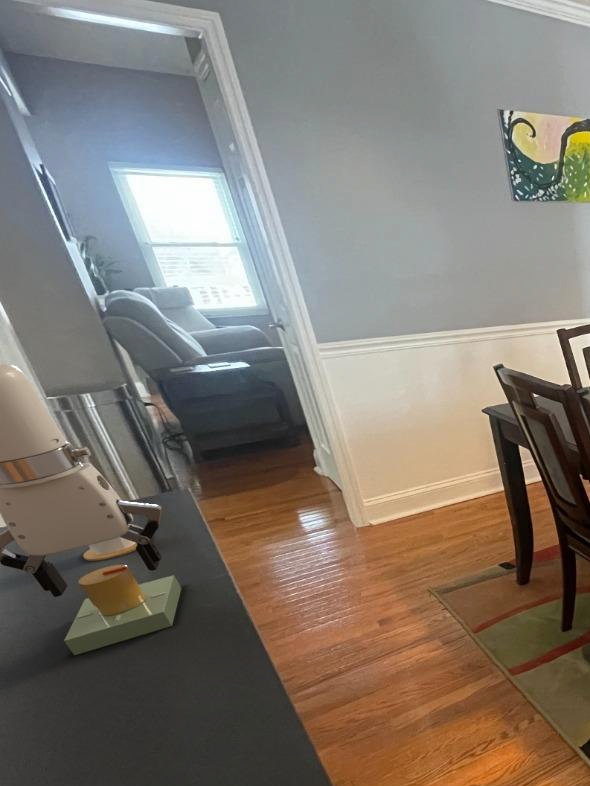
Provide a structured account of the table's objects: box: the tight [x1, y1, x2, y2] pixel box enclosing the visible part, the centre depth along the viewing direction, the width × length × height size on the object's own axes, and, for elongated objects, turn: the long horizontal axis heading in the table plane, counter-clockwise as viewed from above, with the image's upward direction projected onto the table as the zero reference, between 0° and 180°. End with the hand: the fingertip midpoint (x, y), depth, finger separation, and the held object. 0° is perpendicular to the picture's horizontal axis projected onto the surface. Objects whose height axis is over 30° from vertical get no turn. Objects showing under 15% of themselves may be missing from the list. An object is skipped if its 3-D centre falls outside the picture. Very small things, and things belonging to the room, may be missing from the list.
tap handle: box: [77, 564, 146, 615], centre depth 83 cm, size 5×5×6 cm
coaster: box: [82, 543, 137, 562], centre depth 105 cm, size 8×8×1 cm
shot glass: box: [88, 537, 135, 555], centre depth 104 cm, size 7×7×7 cm
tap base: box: [63, 574, 182, 656], centre depth 85 cm, size 10×12×3 cm
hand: (109, 578), depth 83 cm, fingers open, 9 cm apart
